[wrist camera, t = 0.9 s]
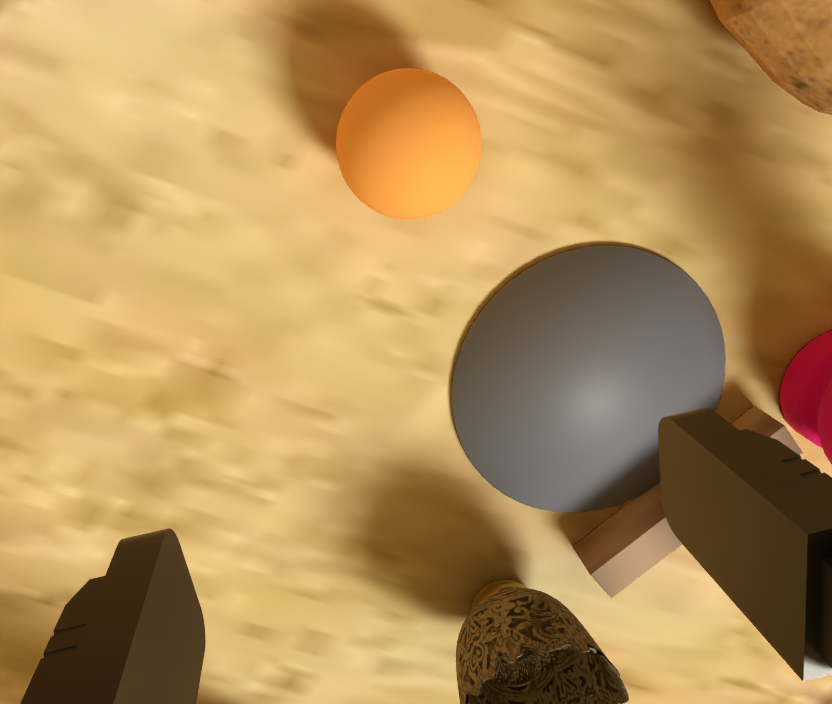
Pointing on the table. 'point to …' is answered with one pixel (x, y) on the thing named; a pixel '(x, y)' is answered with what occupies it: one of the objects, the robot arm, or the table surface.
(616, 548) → the strip
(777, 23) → the potato
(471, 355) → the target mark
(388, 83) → the ball
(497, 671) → the cup
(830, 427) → the pepper mill
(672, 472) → the robot arm
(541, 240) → the table surface
